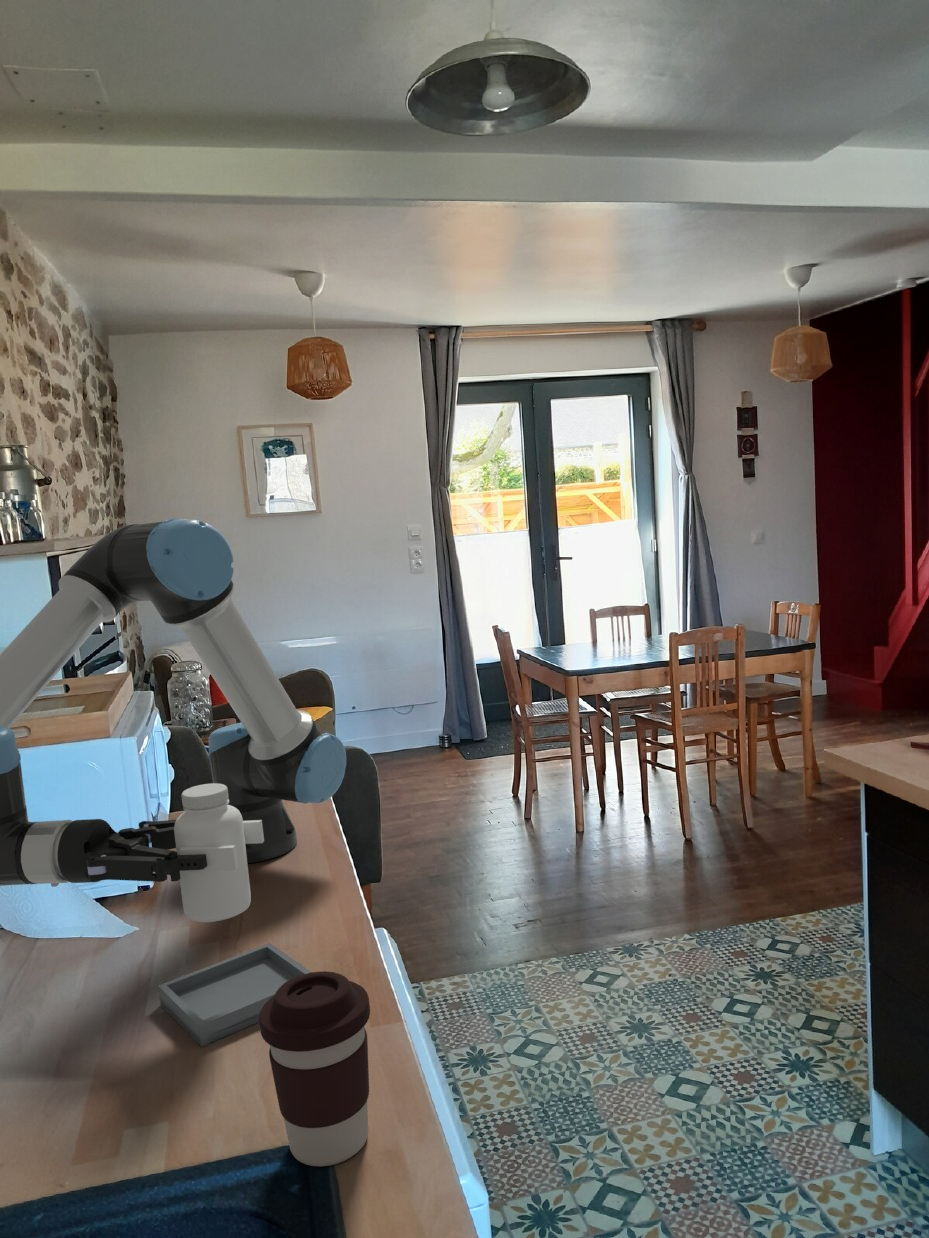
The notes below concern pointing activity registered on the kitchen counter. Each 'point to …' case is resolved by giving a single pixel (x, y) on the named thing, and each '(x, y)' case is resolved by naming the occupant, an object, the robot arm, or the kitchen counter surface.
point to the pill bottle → (212, 827)
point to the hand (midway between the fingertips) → (249, 844)
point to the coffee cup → (320, 1064)
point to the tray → (227, 992)
